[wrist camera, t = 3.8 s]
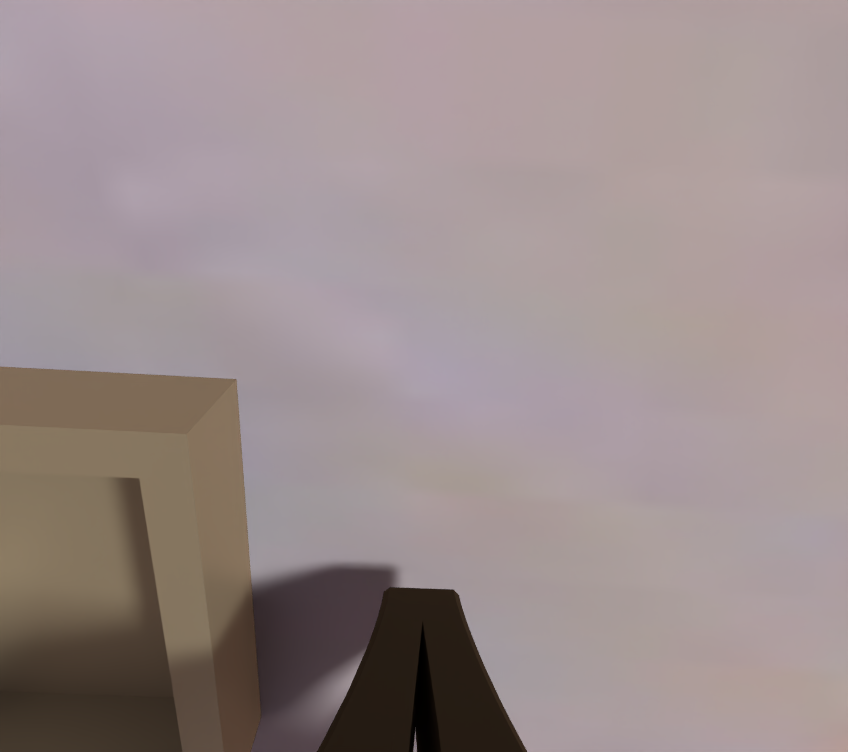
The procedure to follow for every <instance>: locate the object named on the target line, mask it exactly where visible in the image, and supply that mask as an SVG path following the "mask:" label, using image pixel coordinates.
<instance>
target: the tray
mask: <svg viewBox="0 0 848 752" xmlns="http://www.w3.org/2000/svg"><path fill="white" fill-rule="evenodd" d="M260 718H261V707H260V693H259V680H258V666H257V652H256V639H255V625H254V611H253V598H252V584H251V571H250V557H249V543H248V530H247V516H246V503H245V489H244V475H243V462H242V448H241V434H240V421H239V407H238V394H237V380H236V379H222V378H203V377H185V376H166V375H147V374H128V373H110V372H91V371H72V370H53V369H35V368H16V367H0V752H251V749H252V746H253V742H254V739H255V735H256V732H257V729H258V725H259V722H260Z"/></svg>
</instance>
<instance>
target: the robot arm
mask: <svg viewBox="0 0 848 752" xmlns="http://www.w3.org/2000/svg"><path fill="white" fill-rule="evenodd" d="M415 727H416V742H417V752H527V750H526V749H525V747H524V745H523V743H522V741H521V739H520V737H519V736H518V734H517V732H516V730H515V728H514V726H513V724H512V722H511V721H510V719H509V717H508V715H507V713H506V711H505V709H504V707H503V705H502V703H501V701H500V699H499V696H498V694H497V692H496V690H495V688H494V686H493V684H492V681H491V679H490V677H489V675H488V673H487V671H486V669H485V666H484V664H483V662H482V659H481V657H480V655H479V652H478V650H477V647H476V645H475V642H474V640H473V637H472V635H471V632H470V630H469V627H468V624H467V621H466V618H465V615H464V612H463V609H462V606H461V602H460V598H459V595H458V594H457V593H456V592H455V591H454V590H448V589H420V588H393V587H390V588H388V589H387V590H386V591H384V594H383V599H382V604H381V608H380V611H379V615H378V618H377V621H376V624H375V627H374V630H373V633H372V636H371V638H370V641H369V644H368V646H367V649H366V651H365V654H364V656H363V658H362V661H361V663H360V665H359V668H358V670H357V672H356V675H355V677H354V679H353V681H352V684H351V686H350V688H349V690H348V692H347V695H346V697H345V699H344V701H343V703H342V704H341V706H340V708H339V710H338V712H337V714H336V716H335V718H334V720H333V722H332V724H331V726H330V728H329V730H328V732H327V734H326V736H325V738H324V740H323V742H322V744H321V745H320V747H319V749H318V751H317V752H413V748H414V737H415Z"/></svg>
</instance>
